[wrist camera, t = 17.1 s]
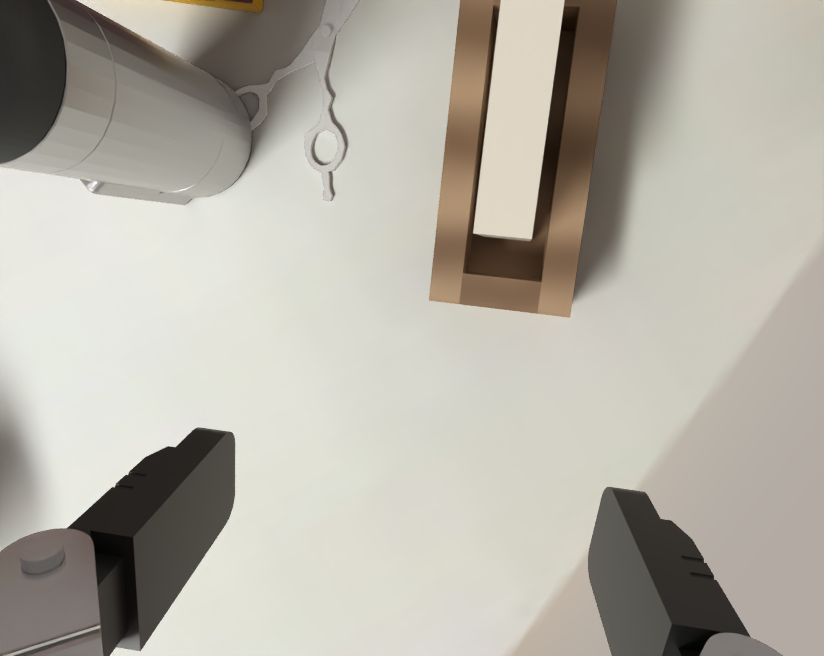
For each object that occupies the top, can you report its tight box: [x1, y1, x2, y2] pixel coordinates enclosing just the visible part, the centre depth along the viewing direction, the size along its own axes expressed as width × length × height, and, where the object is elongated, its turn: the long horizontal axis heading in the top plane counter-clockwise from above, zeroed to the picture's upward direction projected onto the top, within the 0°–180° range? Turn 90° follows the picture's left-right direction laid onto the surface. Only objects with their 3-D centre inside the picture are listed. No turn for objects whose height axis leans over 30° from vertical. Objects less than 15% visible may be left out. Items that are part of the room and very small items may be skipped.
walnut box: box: [429, 0, 617, 317], centre depth 35 cm, size 20×9×5 cm, turn 174°
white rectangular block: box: [473, 0, 565, 241], centre depth 32 cm, size 12×3×10 cm, turn 174°
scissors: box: [235, 0, 360, 201], centre depth 39 cm, size 11×1×20 cm
